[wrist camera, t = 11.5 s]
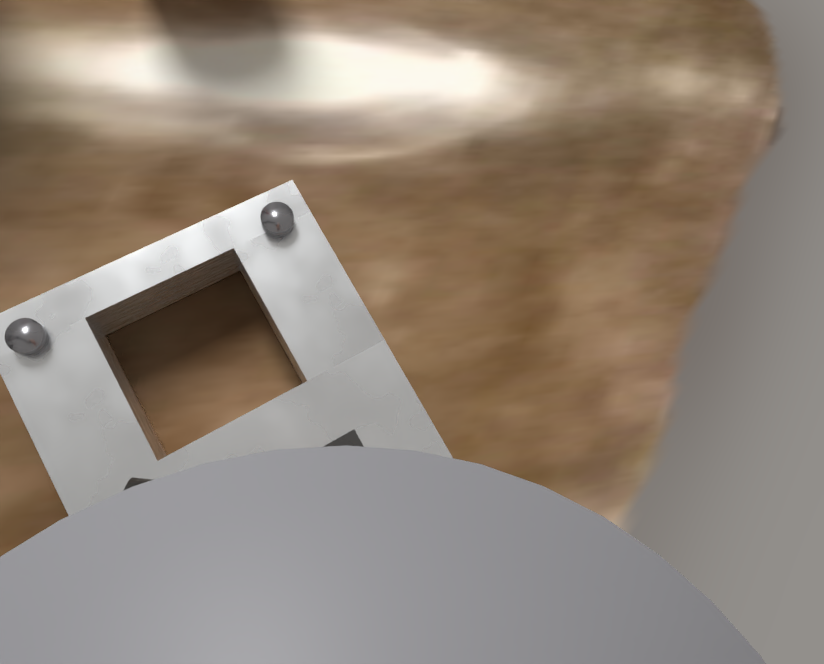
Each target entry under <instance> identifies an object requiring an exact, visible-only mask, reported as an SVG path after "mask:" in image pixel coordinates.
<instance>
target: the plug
mask: <svg viewBox="0 0 824 664" xmlns="http://www.w3.org/2000/svg"><path fill="white" fill-rule="evenodd" d="M0 664H766V663H765V662H764V660H763V659H762V657H761V656H760V655H759V654H758V652H757V651H756V650H755V649H754V648H753V647H752V646H751V645H750V644H749V642H748V641H747V640H746V639H745V638H744V637H743V636H742V635H741V633H740V632H739V631H738V630H737V629H736V628H735V627H734V626H733V624H732V623H731V622H730V621H729V620H728V619H727V618H726V617H725V616H724V614H723V613H722V612H721V611H720V610H719V609H718V608H717V607H716V605H715V604H714V603H713V602H712V601H711V600H710V599H709V598H707V597H706V596H705V595H704V594H703V593H702V592H701V591H700V590H698V589H697V588H696V587H695V586H694V585H693V584H692V583H691V582H689V581H688V580H687V579H686V578H685V577H684V576H683V575H681V574H680V573H679V572H678V571H677V570H676V569H675V568H674V567H672V566H671V565H670V564H669V563H668V562H667V561H666V560H664V559H663V558H662V557H661V556H660V555H659V554H657V553H655V552H654V551H653V550H651V549H650V548H648V547H647V546H645V545H644V544H642V543H641V542H639V541H638V540H637V539H635V538H634V537H632V536H631V535H629V534H628V533H626V532H625V531H623V530H622V529H620V528H619V527H618V526H616V525H615V524H613V523H612V522H610V521H609V520H607V519H606V518H604V517H603V516H601V515H599V514H597V513H595V512H593V511H591V510H589V509H587V508H585V507H583V506H581V505H579V504H577V503H575V502H573V501H571V500H569V499H567V498H565V497H563V496H561V495H559V494H557V493H555V492H554V491H552V490H550V489H548V488H546V487H544V486H541V485H538V484H535V483H532V482H530V481H527V480H524V479H521V478H518V477H515V476H513V475H510V474H507V473H504V472H501V471H498V470H496V469H493V468H490V467H487V466H484V465H481V464H477V463H472V462H468V461H463V460H458V459H453V458H449V457H444V456H439V455H434V454H429V453H425V452H420V451H415V450H402V449H388V448H375V447H361V446H348V445H346V446H328V447H311V448H294V449H277V450H271V451H266V452H261V453H256V454H250V455H245V456H240V457H235V458H229V459H224V460H219V461H213V462H208V463H204V464H201V465H198V466H195V467H191V468H188V469H185V470H182V471H179V472H176V473H173V474H170V475H167V476H164V477H160V478H157V479H154V480H151V481H148V482H145V483H142V484H139V485H136V486H133V487H130V488H128V489H126V490H124V491H122V492H120V493H118V494H115V495H113V496H111V497H109V498H107V499H105V500H102V501H100V502H98V503H96V504H94V505H92V506H89V507H87V508H85V509H83V510H81V511H79V512H77V513H74V514H72V515H70V516H68V517H66V518H64V519H61V520H59V521H58V522H56V523H55V524H53V525H51V526H50V527H48V528H46V529H45V530H43V531H42V532H40V533H38V534H37V535H35V536H33V537H32V538H30V539H29V540H27V541H25V542H24V543H22V544H20V545H19V546H17V547H15V548H14V549H12V550H11V551H9V552H7V553H6V554H4V555H2V556H1V557H0Z"/></svg>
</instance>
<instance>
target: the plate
mask: <svg viewBox="0 0 824 664" xmlns="http://www.w3.org/2000/svg"><path fill="white" fill-rule="evenodd" d="M239 271H241V273H242V275H243V276H244V278H245V280H246V282H247V284H248V286H249V287H250V289H251V291H252V293H253V295H254V296H255V298H256V300H257V302H258V304H259V305H260V307H261V309H262V311H263V313H264V315H265V316H266V318H267V320H268V322H269V324H270V325H271V327H272V329H273V331H274V333H275V334H276V336H277V338H278V340H279V342H280V344H281V345H282V347H283V349H284V351H285V353H286V354H287V356H288V358H289V360H290V362H291V363H292V365H293V367H294V369H295V371H296V373H297V374H298V376H299V378H300V380H301V382H302V383H303V384H301V385H299V386H297V387H295V388H293V389H291V390H290V391H288V392H286V393H284V394H282V395H280V396H278V397H276V398H275V399H273V400H271V401H269V402H267V403H265V404H263V405H261V406H260V407H258V408H256V409H254V410H252V411H250V412H248V413H247V414H245V415H243V416H241V417H239V418H237V419H235V420H233V421H232V422H230V423H228V424H226V425H224V426H222V427H220V428H218V429H217V430H215V431H213V432H211V433H209V434H207V435H205V436H203V437H202V438H200V439H198V440H196V441H194V442H192V443H190V444H188V445H187V446H185V447H183V448H181V449H179V450H177V451H175V452H174V453H172V454H170V455H168V456H167V455H166V453H165V451H164V449H163V447H162V445H161V444H160V442H159V440H158V438H157V436H156V434H155V432H154V430H153V428H152V426H151V424H150V422H149V420H148V418H147V416H146V414H145V412H144V410H143V408H142V406H141V404H140V402H139V400H138V398H137V396H136V395H135V393H134V391H133V389H132V387H131V385H130V383H129V381H128V379H127V377H126V375H125V373H124V371H123V369H122V367H121V365H120V363H119V361H118V359H117V357H116V355H115V353H114V351H113V349H112V348H111V346H110V344H109V342H108V340H107V338H106V335H108V334H110V333H112V332H114V331H116V330H118V329H120V328H122V327H125V326H127V325H129V324H131V323H133V322H135V321H137V320H139V319H141V318H143V317H145V316H147V315H150V314H152V313H154V312H156V311H158V310H160V309H162V308H164V307H166V306H168V305H170V304H172V303H174V302H177V301H179V300H181V299H183V298H185V297H187V296H189V295H191V294H193V293H195V292H197V291H199V290H202V289H204V288H206V287H208V286H210V285H212V284H214V283H216V282H218V281H220V280H222V279H224V278H226V277H229V276H231V275H233V274H235V273H237V272H239ZM0 374H1V376H2V378H3V380H4V382H5V384H6V386H7V388H8V390H9V392H10V394H11V397H12V399H13V401H14V403H15V405H16V407H17V409H18V411H19V413H20V415H21V417H22V419H23V421H24V424H25V426H26V428H27V430H28V432H29V434H30V436H31V438H32V440H33V442H34V444H35V446H36V449H37V451H38V453H39V455H40V457H41V459H42V461H43V463H44V465H45V467H46V469H47V471H48V474H49V476H50V478H51V480H52V482H53V484H54V486H55V488H56V490H57V492H58V494H59V496H60V498H61V501H62V503H63V505H64V507H65V509H66V511H67V513H68V515H69V516H70V515H72V514H74V513H77V512H79V511H81V510H83V509H85V508H87V507H89V506H92V505H94V504H96V503H98V502H100V501H102V500H105V499H107V498H109V497H111V496H113V495H115V494H118V493H120V492H122V491H123V490H124V488H125V486H126V484H127V482H128V481H129V480H130V479H131V478H132V477H134V478H143V479H153V480H154V479H157V478H160V477H164V476H167V475H170V474H173V473H176V472H179V471H182V470H185V469H188V468H191V467H195V466H198V465H201V464H204V463H208V462H213V461H219V460H224V459H229V458H235V457H240V456H245V455H250V454H256V453H261V452H266V451H271V450H277V449H294V448H311V447H328V446H346V445H348V446H361V447H375V448H388V449H402V450H415V451H420V452H425V453H429V454H434V455H439V456H444V457H449V458H452V456H451V454H450V452H449V451H448V449H447V447H446V445H445V444H444V442H443V440H442V438H441V437H440V435H439V433H438V432H437V430H436V428H435V426H434V425H433V423H432V421H431V419H430V418H429V416H428V414H427V413H426V411H425V409H424V407H423V406H422V404H421V402H420V400H419V399H418V397H417V395H416V393H415V392H414V390H413V388H412V387H411V385H410V383H409V381H408V380H407V378H406V376H405V374H404V373H403V371H402V369H401V367H400V366H399V364H398V362H397V361H396V359H395V357H394V355H393V354H392V352H391V350H390V348H389V347H388V345H387V343H386V341H385V340H384V338H383V336H382V335H381V333H380V331H379V329H378V328H377V326H376V324H375V322H374V321H373V319H372V317H371V316H370V314H369V312H368V310H367V309H366V307H365V305H364V303H363V302H362V300H361V298H360V296H359V295H358V293H357V291H356V290H355V288H354V286H353V284H352V283H351V281H350V279H349V277H348V276H347V274H346V272H345V270H344V269H343V267H342V265H341V264H340V262H339V260H338V258H337V257H336V255H335V253H334V251H333V250H332V248H331V246H330V244H329V243H328V241H327V239H326V238H325V236H324V234H323V232H322V231H321V229H320V227H319V225H318V224H317V222H316V220H315V218H314V217H313V215H312V213H311V212H310V210H309V208H308V206H307V205H306V203H305V201H304V199H303V198H302V196H301V194H300V193H299V191H298V189H297V187H296V186H295V184H294V182H293V180H291V181H289V182H287V183H284V184H282V185H280V186H278V187H276V188H273V189H271V190H269V191H267V192H265V193H263V194H260V195H258V196H256V197H254V198H252V199H249V200H247V201H245V202H243V203H241V204H238V205H236V206H234V207H232V208H230V209H227V210H225V211H223V212H221V213H219V214H216V215H214V216H212V217H210V218H208V219H206V220H203V221H201V222H199V223H197V224H195V225H192V226H190V227H188V228H186V229H184V230H181V231H179V232H177V233H175V234H173V235H170V236H168V237H166V238H164V239H162V240H159V241H157V242H155V243H153V244H151V245H148V246H146V247H144V248H142V249H140V250H138V251H135V252H133V253H131V254H129V255H127V256H124V257H122V258H120V259H118V260H116V261H113V262H111V263H109V264H107V265H105V266H102V267H100V268H98V269H96V270H94V271H91V272H89V273H87V274H85V275H83V276H81V277H78V278H76V279H74V280H72V281H70V282H67V283H65V284H63V285H61V286H59V287H56V288H54V289H52V290H50V291H48V292H45V293H43V294H41V295H39V296H37V297H34V298H32V299H30V300H28V301H26V302H23V303H21V304H19V305H17V306H15V307H13V308H10V309H8V310H6V311H4V312H2V313H0Z"/></svg>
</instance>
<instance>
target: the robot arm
mask: <svg viewBox="0 0 824 664" xmlns="http://www.w3.org/2000/svg"><path fill="white" fill-rule="evenodd" d="M151 480H153V479H143V478H134V477H132V478H131V479H130V480H129V481H128V482H127V484H126V486H125V488H124V490H126V489H128V488H130V487H133V486H136V485H139V484H142V483H145V482H148V481H151ZM124 490H123V491H124Z"/></svg>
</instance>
